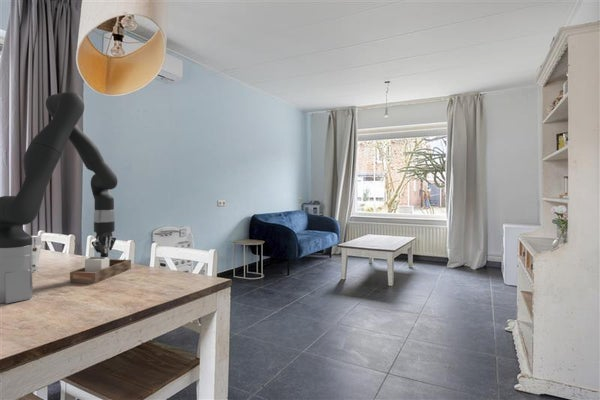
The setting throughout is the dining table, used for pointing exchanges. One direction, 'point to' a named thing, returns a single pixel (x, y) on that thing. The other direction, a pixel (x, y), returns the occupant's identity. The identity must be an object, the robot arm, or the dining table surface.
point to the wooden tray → (100, 272)
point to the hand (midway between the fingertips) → (104, 261)
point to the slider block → (96, 263)
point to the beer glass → (35, 252)
